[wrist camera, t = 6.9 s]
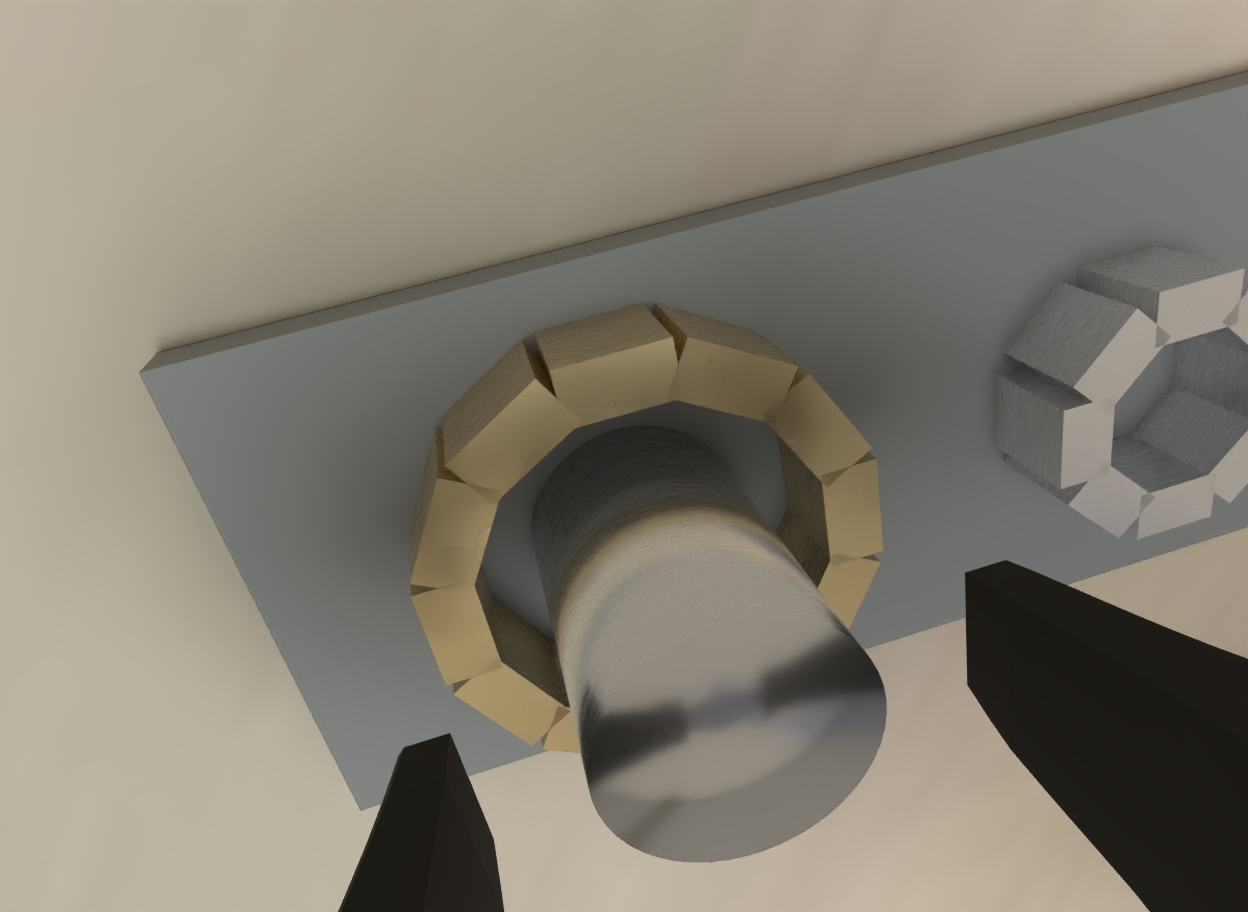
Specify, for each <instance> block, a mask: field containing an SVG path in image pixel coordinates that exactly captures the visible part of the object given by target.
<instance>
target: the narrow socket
mask: <svg viewBox="0 0 1248 912" xmlns="http://www.w3.org/2000/svg"><path fill="white" fill-rule="evenodd" d="M1174 342H1175V351H1174V361H1173V371H1172V380H1171V386H1170V387H1169V388H1168V389H1167V390H1166V391H1165V393H1164V394H1163V395H1162V396H1161V397H1160V399H1159V400H1158V401H1157V402H1156V403H1155V405H1154V406H1153V407H1152V408H1151V409H1150V411H1149V412H1148V413H1147V414H1146V415H1145V416H1144V418H1143V419H1142V420H1141V421H1140V422H1139V424H1138V425H1137V426H1136V427H1135V428H1134V430H1133V431H1132V432H1131V433H1130V434H1128V435H1124V436H1121V437H1118V438H1114V439H1113V425H1114V411H1115V404H1116V403H1117V402H1118V400H1119V399H1120V398H1121V397H1122V396H1123V394H1124V393H1125V392H1126V391H1127V390H1128V388H1129V387H1130V386H1131V385H1132V384H1133V382H1134V381H1135V380H1136V379H1137V377H1138V376H1139V375H1140V374H1141V373H1142V371H1143V370H1144V369H1145V368H1146V367H1147V365H1148V364H1149V363H1150V362H1151V361H1152V359H1153V358H1154V357H1155V356H1156V354H1157V353H1158V352H1159V351H1160V350H1161V348H1162V347H1163V346H1164V345H1167V344H1170V343H1174ZM1003 353H1005V354H1006V355H1007V356H1009V357H1010V358H1012V359H1013V360H1014V361H1016V362H1017V363H1018V364H1020V365H1021V366H1018V367H1015V368H1011V369H1008V370H1004V371H1001V372H997V373H995V446H997V447H998V448H1000V449H1001V450H1003V451H1004V452H1006V453H1007V455H1006V456H1005V457H1004V458H1003V461H1004V462H1006V463H1007V464H1009V465H1010V466H1012V467H1013V468H1015V469H1016V470H1017V471H1019V472H1020V473H1022V474H1023V475H1025V476H1026V477H1028V478H1029V479H1031V480H1032V481H1033V482H1035V483H1036V484H1038V485H1039V486H1041V487H1042V488H1044V489H1045V490H1047V491H1048V492H1049V493H1051V494H1052V495H1054V496H1055V497H1057V498H1058V499H1060V500H1061V501H1063V502H1064V503H1065V504H1067V505H1068V506H1070V507H1071V508H1073V509H1075V510H1076V511H1078V512H1079V513H1081V514H1082V515H1084V516H1085V517H1087V518H1088V519H1090V520H1091V521H1093V522H1095V523H1096V524H1098V525H1099V526H1101V527H1102V528H1104V529H1105V530H1107V531H1108V532H1110V533H1111V534H1113V535H1115V536H1116V537H1118V538H1120V537H1121V536H1122V535H1123V533H1124V532H1126V533H1128V534H1129V535H1131V536H1132V537H1134V538H1135V539H1137V540H1138V539H1141V538H1144V537H1147V536H1150V535H1153V534H1157V533H1160V532H1163V531H1166V530H1169V529H1172V528H1176V527H1179V526H1182V525H1185V524H1188V523H1191V522H1194V521H1198V520H1201V519H1204V518H1207V517H1210V516H1211V509H1212V502H1213V495H1215V496H1217V497H1219V498H1221V499H1223V500H1224V501H1226V502H1228V503H1231V502H1232V500H1233V499H1234V498H1235V497H1236V496H1237V495H1238V494H1239V493H1240V492H1241V490H1242V489H1243V488H1244V487H1245V486H1246V485H1247V484H1248V268H1247V267H1243V266H1239V265H1235V264H1231V263H1227V262H1223V261H1219V260H1215V259H1211V258H1207V257H1203V256H1199V255H1195V254H1191V253H1187V252H1183V251H1179V250H1175V249H1171V250H1170V249H1166V248H1162V247H1158V246H1154V245H1153V246H1149V247H1146V248H1142V249H1139V250H1135V251H1131V252H1128V253H1124V254H1121V255H1117V256H1113V257H1110V258H1106V259H1103V260H1099V261H1095V262H1092V263H1088V264H1085V265H1081V266H1077V284H1076V287H1075V286H1072V285H1069V284H1066V283H1063V282H1060V281H1057V282H1056V283H1055V285H1054V286H1053V287H1052V288H1051V290H1050V291H1049V292H1048V294H1047V295H1046V296H1045V297H1044V299H1043V300H1042V301H1041V303H1040V304H1039V305H1038V307H1037V308H1036V309H1035V310H1034V312H1033V313H1032V314H1031V316H1030V317H1029V318H1028V320H1027V321H1026V322H1025V323H1024V325H1023V326H1022V327H1021V329H1020V330H1019V331H1018V332H1017V334H1016V335H1015V336H1014V338H1013V339H1012V340H1011V342H1010V343H1009V344H1008V345H1007V347H1006V348H1005V349H1004V351H1003Z"/></svg>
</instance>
